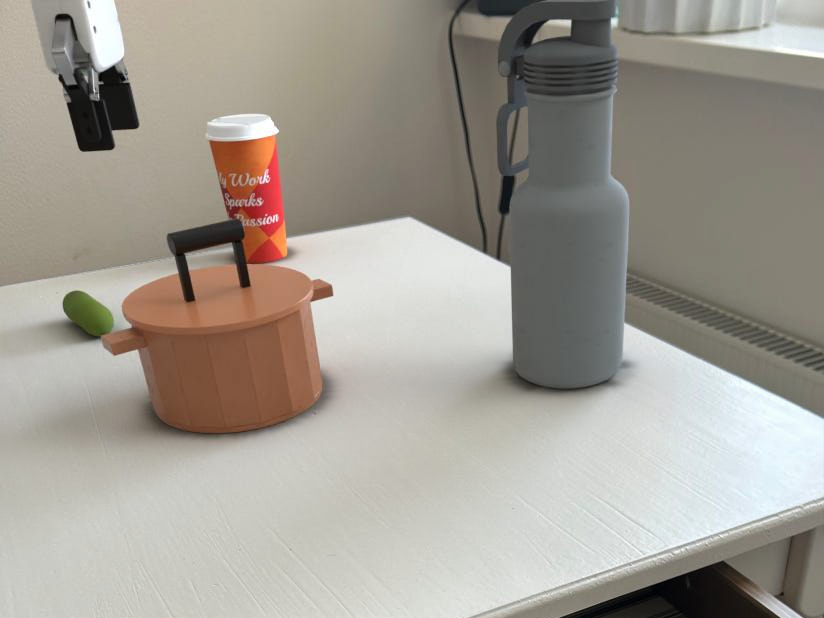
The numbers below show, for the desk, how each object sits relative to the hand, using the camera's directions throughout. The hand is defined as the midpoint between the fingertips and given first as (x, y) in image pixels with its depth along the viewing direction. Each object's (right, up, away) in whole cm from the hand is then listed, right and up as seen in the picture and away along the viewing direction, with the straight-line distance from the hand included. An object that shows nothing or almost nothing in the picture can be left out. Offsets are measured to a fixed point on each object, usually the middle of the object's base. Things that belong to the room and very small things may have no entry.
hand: (111, 139), depth 93 cm
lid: (+13, -19, -11) cm, 26 cm away
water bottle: (+43, -23, -5) cm, 49 cm away
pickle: (-6, -15, +9) cm, 19 cm away
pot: (+14, -26, -6) cm, 30 cm away
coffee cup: (+8, 0, +27) cm, 29 cm away
